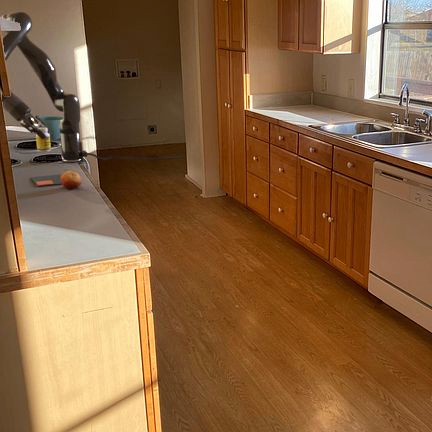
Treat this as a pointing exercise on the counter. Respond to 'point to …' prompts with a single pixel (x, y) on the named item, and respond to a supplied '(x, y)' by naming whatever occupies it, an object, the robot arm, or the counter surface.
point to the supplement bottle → (43, 141)
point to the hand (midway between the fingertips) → (47, 136)
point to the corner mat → (47, 180)
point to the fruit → (70, 180)
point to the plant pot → (52, 126)
